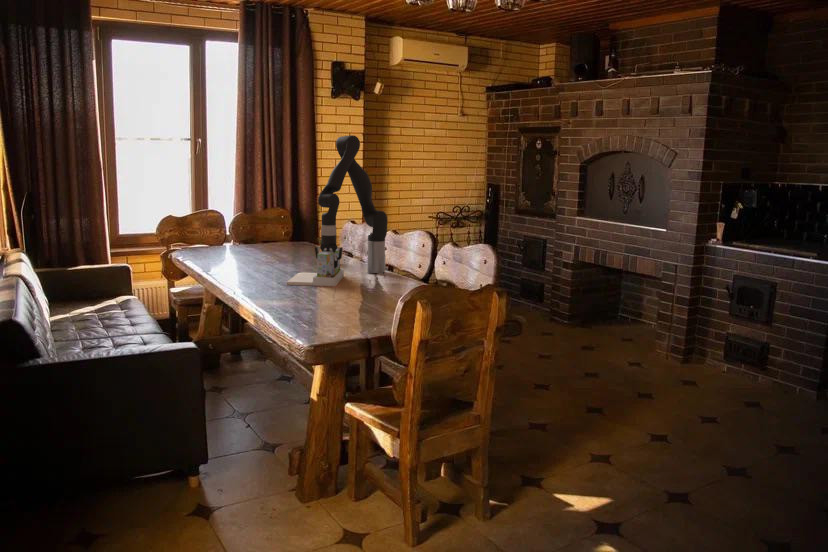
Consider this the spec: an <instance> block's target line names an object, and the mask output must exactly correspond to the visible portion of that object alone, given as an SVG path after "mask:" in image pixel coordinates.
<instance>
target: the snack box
mask: <svg viewBox="0 0 828 552" xmlns="http://www.w3.org/2000/svg"><path fill="white" fill-rule="evenodd" d="M320 252H321V253H320ZM320 252H319V254H317V259H316V261H317V264H316V265H317V266H316V273H317V277H327V278H334V277H335V276H336V275H337V274H338V273H339V272H340V269H341V259H340V260H338V266H337V267H336V268H334V261H335V259H334V257H333V252H330V251H324V252H322V251H320ZM335 253H336V255H337V257H339V251H338V249H337V250H336V251H335V252H334V254H335Z"/></svg>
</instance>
